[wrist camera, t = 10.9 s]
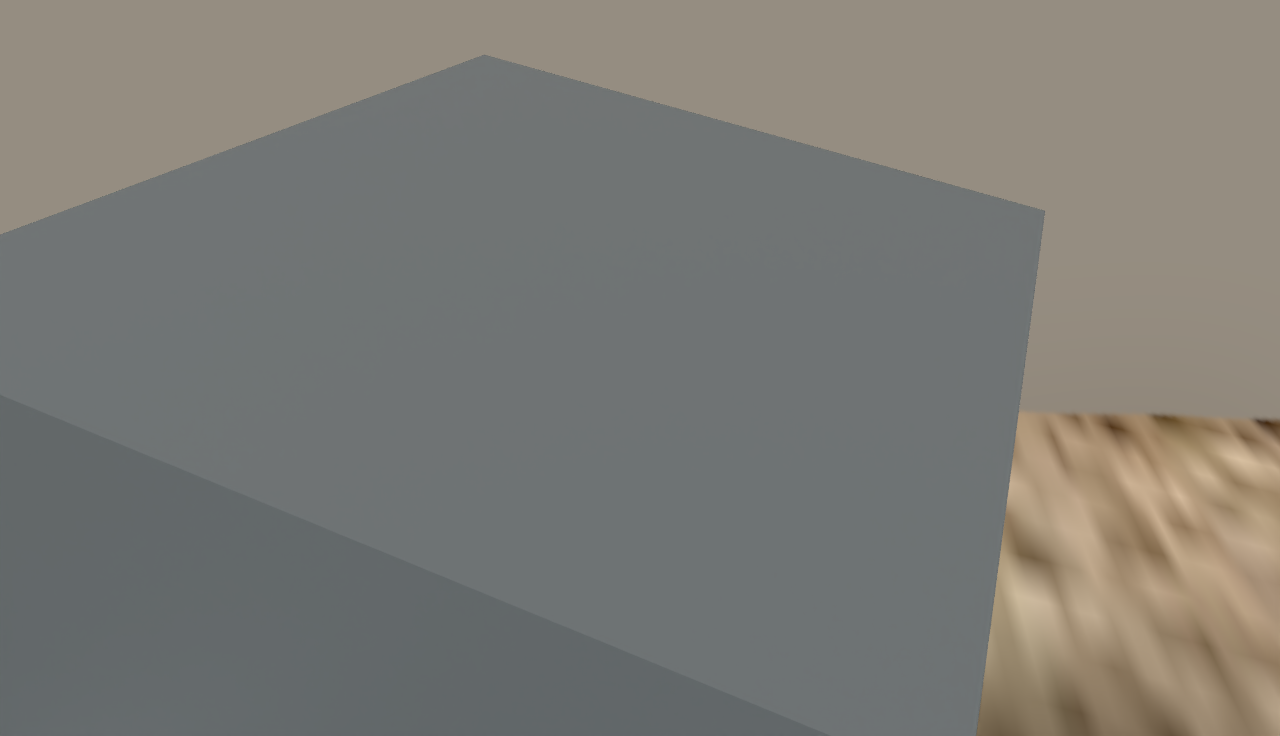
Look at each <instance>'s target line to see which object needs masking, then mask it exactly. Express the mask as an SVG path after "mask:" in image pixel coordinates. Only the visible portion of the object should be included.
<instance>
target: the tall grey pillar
mask: <svg viewBox="0 0 1280 736" xmlns="http://www.w3.org/2000/svg"><path fill="white" fill-rule="evenodd" d="M1044 215H1045V211H1044V210H1040V209H1037V208H1033V207H1030V206H1026V205H1022V204H1018V203H1015V202H1012V201H1008V200H1004V199H1001V198H997V197H994V196H990V195H987V194H983V193H979V192H976V191H972V190H969V189H965V188H961V187H958V186H954V185H951V184H947V183H943V182H940V181H936V180H933V179H929V178H925V177H922V176H918V175H914V174H911V173H907V172H904V171H900V170H897V169H893V168H889V167H886V166H882V165H879V164H875V163H871V162H868V161H864V160H861V159H857V158H853V157H850V156H846V155H842V154H839V153H836V152H832V151H828V150H825V149H821V148H818V147H814V146H810V145H807V144H803V143H799V142H796V141H792V140H789V139H785V138H782V137H778V136H775V135H771V134H767V133H764V132H760V131H756V130H753V129H749V128H746V127H742V126H739V125H735V124H731V123H728V122H724V121H721V120H717V119H713V118H710V117H706V116H703V115H699V114H695V113H692V112H688V111H684V110H681V109H677V108H674V107H670V106H667V105H663V104H660V103H656V102H652V101H648V100H645V99H641V98H638V97H634V96H631V95H627V94H624V93H620V92H616V91H613V90H609V89H606V88H602V87H598V86H595V85H591V84H588V83H584V82H581V81H577V80H573V79H569V78H566V77H563V76H559V75H555V74H552V73H548V72H545V71H541V70H537V69H534V68H530V67H527V66H523V65H519V64H516V63H512V62H509V61H505V60H501V59H497V58H494V57H490V56H487V55H482V56H480V57H477V58H474V59H471V60H469V61H466V62H463V63H461V64H458V65H455V66H453V67H450V68H447V69H445V70H442V71H440V72H437V73H434V74H431V75H428V76H426V77H423V78H420V79H418V80H415V81H412V82H410V83H407V84H404V85H402V86H399V87H396V88H393V89H391V90H388V91H385V92H383V93H380V94H377V95H375V96H372V97H370V98H367V99H364V100H361V101H359V102H356V103H353V104H350V105H348V106H345V107H343V108H340V109H337V110H334V111H332V112H329V113H326V114H324V115H321V116H318V117H316V118H313V119H310V120H307V121H305V122H302V123H299V124H297V125H294V126H291V127H289V128H286V129H283V130H281V131H278V132H275V133H273V134H270V135H267V136H265V137H262V138H259V139H256V140H254V141H251V142H248V143H246V144H243V145H240V146H237V147H235V148H232V149H229V150H227V151H224V152H221V153H219V154H216V155H213V156H211V157H208V158H205V159H203V160H200V161H197V162H194V163H192V164H189V165H186V166H184V167H181V168H178V169H176V170H173V171H170V172H168V173H165V174H162V175H159V176H157V177H155V178H151V179H149V180H146V181H143V182H141V183H138V184H135V185H133V186H130V187H127V188H125V189H122V190H119V191H116V192H114V193H111V194H108V195H106V196H103V197H100V198H98V199H95V200H92V201H90V202H87V203H84V204H82V205H79V206H76V207H73V208H71V209H68V210H65V211H63V212H60V213H57V214H55V215H52V216H49V217H47V218H44V219H41V220H39V221H36V222H33V223H30V224H28V225H25V226H22V227H20V228H17V229H14V230H12V231H9V232H6V233H3V234H1V235H0V736H976V732H977V725H978V717H979V710H980V702H981V694H982V687H983V679H984V672H985V664H986V656H987V649H988V641H989V634H990V626H991V618H992V611H993V603H994V596H995V588H996V580H997V573H998V565H999V558H1000V550H1001V542H1002V535H1003V527H1004V520H1005V512H1006V504H1007V497H1008V489H1009V482H1010V474H1011V466H1012V459H1013V451H1014V443H1015V436H1016V428H1017V421H1018V413H1019V405H1020V398H1021V389H1022V383H1023V375H1024V367H1025V360H1026V352H1027V344H1028V336H1029V329H1030V322H1031V314H1032V307H1033V299H1034V291H1035V284H1036V276H1037V269H1038V261H1039V253H1040V246H1041V238H1042V231H1043V223H1044Z"/></svg>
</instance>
